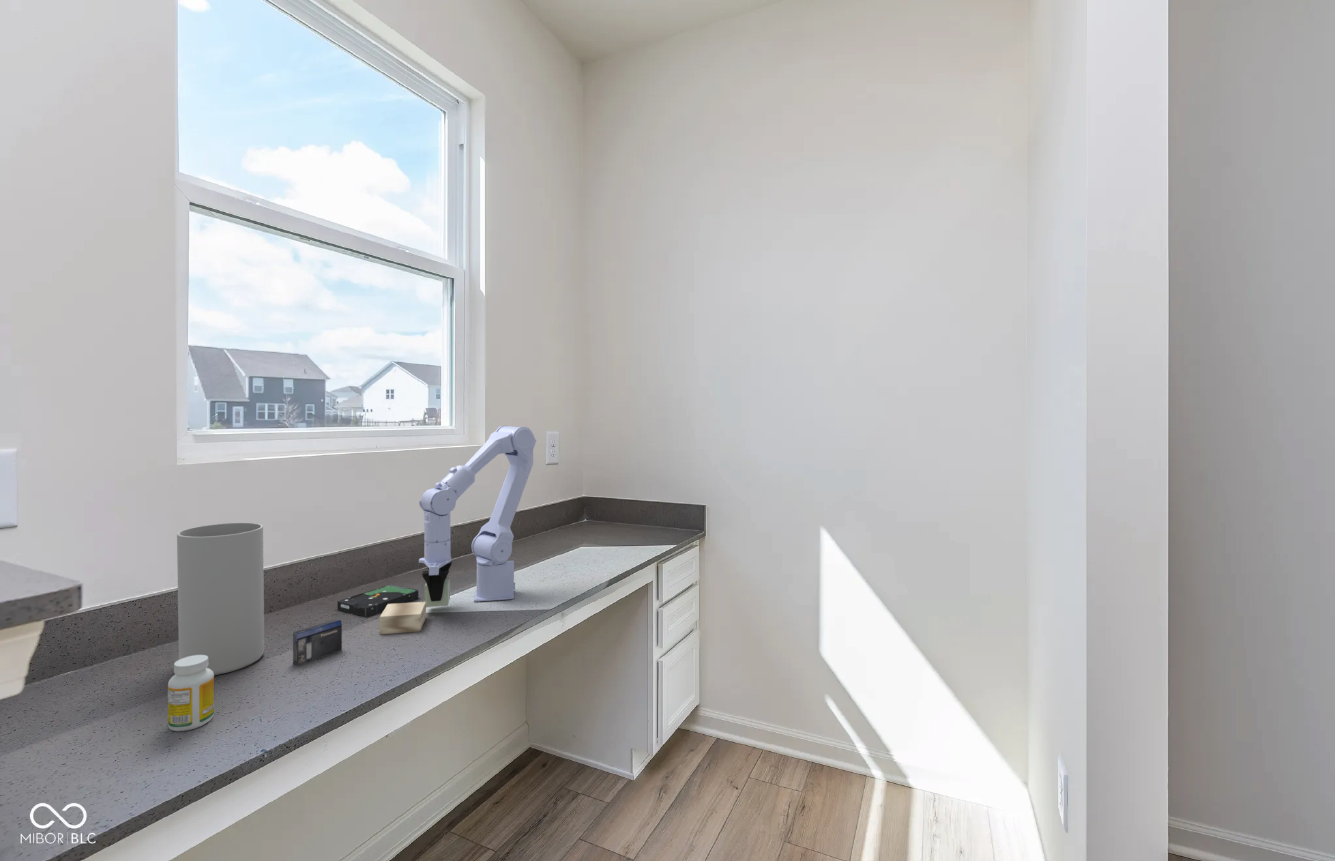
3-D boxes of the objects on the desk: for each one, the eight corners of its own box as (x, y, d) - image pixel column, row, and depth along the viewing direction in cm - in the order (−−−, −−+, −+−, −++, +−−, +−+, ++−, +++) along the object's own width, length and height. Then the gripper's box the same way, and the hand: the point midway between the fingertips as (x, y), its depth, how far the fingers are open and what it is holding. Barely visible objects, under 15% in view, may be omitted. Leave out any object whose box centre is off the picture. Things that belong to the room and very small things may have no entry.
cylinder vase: (162, 680, 99) (159, 538, 98) (205, 650, 111) (203, 523, 110) (243, 675, 102) (241, 536, 101) (276, 646, 114) (275, 522, 113)
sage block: (449, 598, 138) (449, 578, 138) (447, 605, 133) (447, 584, 133) (427, 600, 137) (427, 579, 137) (424, 607, 132) (424, 585, 132)
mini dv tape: (297, 665, 106) (297, 633, 106) (293, 663, 107) (292, 632, 106) (341, 650, 113) (341, 620, 113) (337, 648, 114) (337, 618, 113)
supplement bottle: (172, 736, 83) (171, 671, 82) (164, 723, 86) (163, 660, 86) (218, 721, 87) (217, 659, 87) (209, 709, 90) (208, 649, 90)
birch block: (425, 618, 131) (426, 601, 131) (420, 632, 123) (420, 614, 123) (387, 621, 129) (387, 603, 128) (379, 635, 121) (379, 616, 121)
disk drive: (366, 620, 130) (419, 600, 143) (366, 608, 130) (419, 589, 143) (336, 612, 134) (390, 593, 148) (336, 600, 134) (390, 583, 148)
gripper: (423, 533, 140) (423, 588, 141) (414, 548, 126) (414, 608, 127) (454, 532, 142) (454, 586, 143) (448, 546, 128) (448, 606, 129)
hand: (437, 596), depth 135 cm, fingers closed on sage block, 5 cm apart
